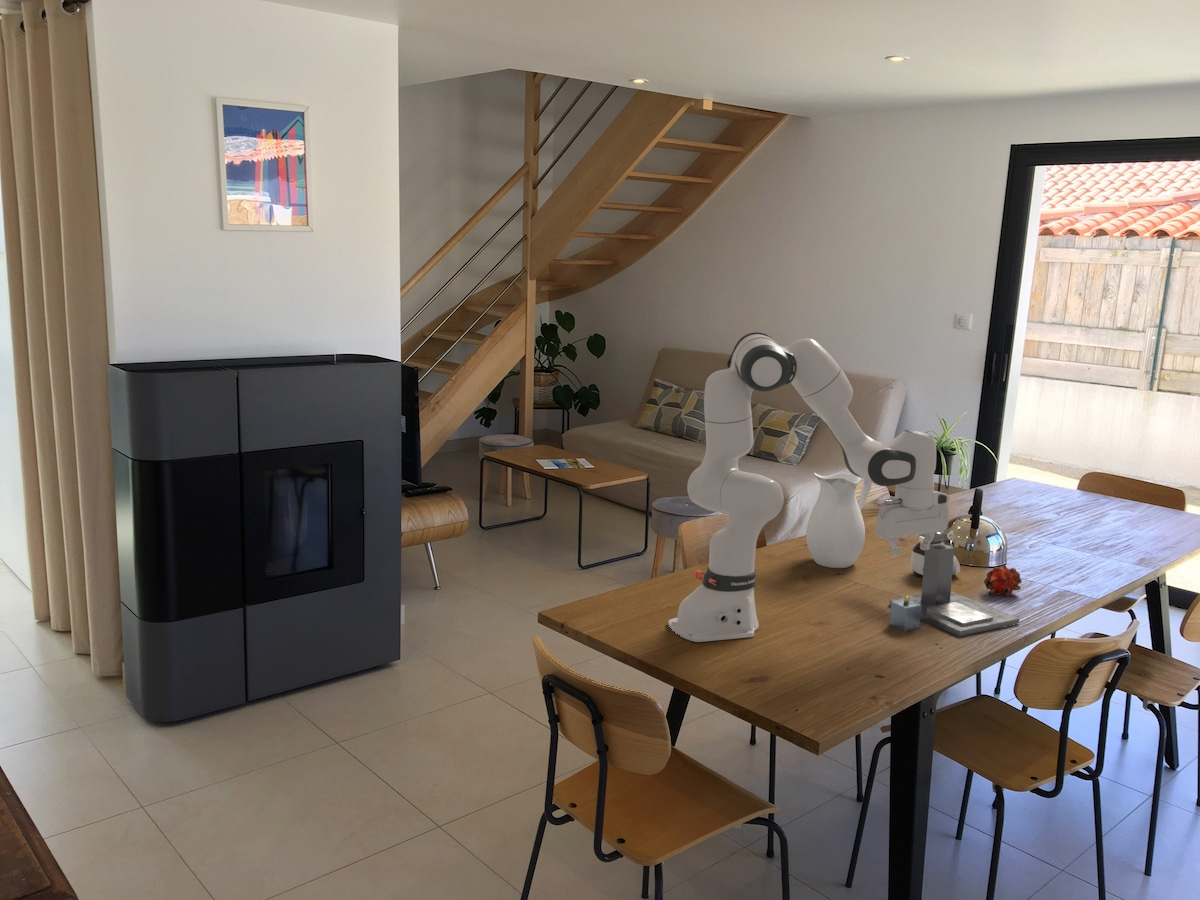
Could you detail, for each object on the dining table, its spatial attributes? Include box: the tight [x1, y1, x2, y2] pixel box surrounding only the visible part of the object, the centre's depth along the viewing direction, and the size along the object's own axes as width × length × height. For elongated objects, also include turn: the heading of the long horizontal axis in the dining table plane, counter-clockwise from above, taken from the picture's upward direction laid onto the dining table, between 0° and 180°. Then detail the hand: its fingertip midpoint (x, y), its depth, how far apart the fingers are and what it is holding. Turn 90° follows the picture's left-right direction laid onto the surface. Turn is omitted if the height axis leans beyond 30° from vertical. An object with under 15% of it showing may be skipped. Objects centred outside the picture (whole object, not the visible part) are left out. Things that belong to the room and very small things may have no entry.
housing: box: [889, 595, 921, 632], centre depth 235 cm, size 5×5×8 cm
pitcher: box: [806, 472, 873, 569], centre depth 285 cm, size 24×17×28 cm
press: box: [889, 543, 1020, 638], centre depth 242 cm, size 20×24×16 cm
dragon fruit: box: [983, 564, 1022, 597], centre depth 259 cm, size 8×8×12 cm
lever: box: [918, 531, 949, 545], centre depth 255 cm, size 4×23×3 cm, turn 26°
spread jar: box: [910, 536, 961, 579], centre depth 274 cm, size 12×11×12 cm
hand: (910, 552), depth 232 cm, fingers open, 8 cm apart
